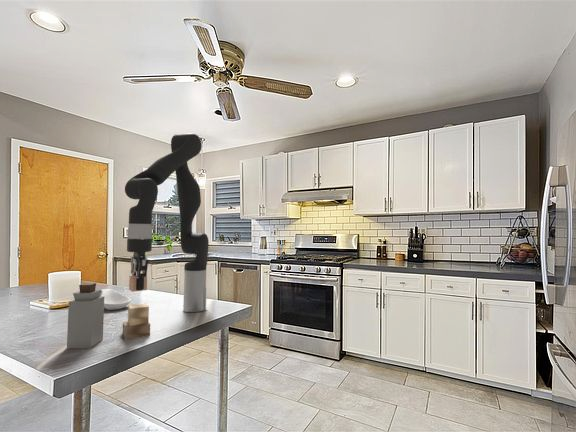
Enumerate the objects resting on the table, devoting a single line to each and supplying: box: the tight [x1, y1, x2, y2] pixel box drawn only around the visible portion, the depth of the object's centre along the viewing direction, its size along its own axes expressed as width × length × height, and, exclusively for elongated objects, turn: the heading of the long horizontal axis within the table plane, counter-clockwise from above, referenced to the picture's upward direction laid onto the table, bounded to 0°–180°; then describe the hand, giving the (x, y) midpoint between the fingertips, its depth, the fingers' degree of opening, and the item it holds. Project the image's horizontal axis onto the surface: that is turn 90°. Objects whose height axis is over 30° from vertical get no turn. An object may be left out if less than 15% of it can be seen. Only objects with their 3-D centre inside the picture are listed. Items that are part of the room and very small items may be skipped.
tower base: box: [122, 321, 151, 340], centre depth 103 cm, size 7×7×4 cm
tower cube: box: [127, 302, 150, 326], centre depth 103 cm, size 6×6×6 cm
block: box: [128, 275, 148, 292], centre depth 104 cm, size 4×4×4 cm
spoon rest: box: [99, 288, 132, 311], centre depth 139 cm, size 24×12×7 cm, turn 52°
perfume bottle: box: [66, 282, 105, 349], centre depth 94 cm, size 7×7×18 cm
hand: (138, 288), depth 103 cm, fingers closed on block, 4 cm apart
